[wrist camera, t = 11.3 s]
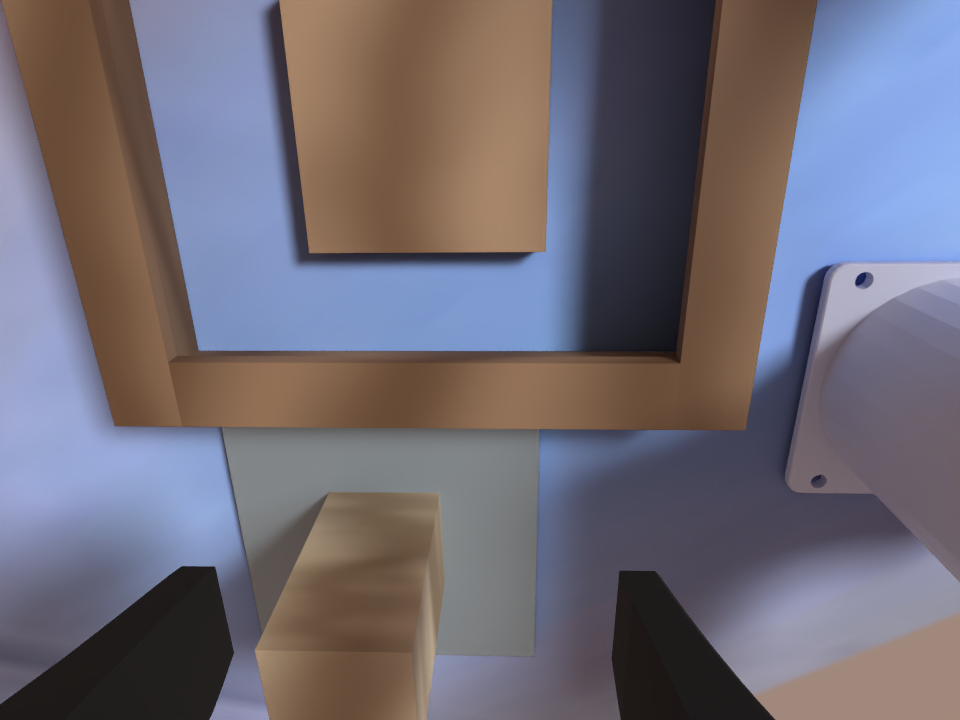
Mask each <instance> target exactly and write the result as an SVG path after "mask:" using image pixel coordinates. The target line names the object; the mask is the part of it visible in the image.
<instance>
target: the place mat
mask: <svg viewBox="0 0 960 720" xmlns="http://www.w3.org/2000/svg"><path fill="white" fill-rule="evenodd" d="M222 432H223V437H224V442H225V447H226V453H227V458H228V463H229V468H230V473H231V478H232V484H233V489H234V494H235V499H236V504H237V509H238V515H239V520H240V525H241V530H242V535H243V541H244V546H245V551H246V556H247V561H248V566H249V572H250V577H251V582H252V587H253V592H254V597H255V603H256V608H257V613H258V618H259V623H260V629H261V634H263V632H264V630H265V628H266V625H267V623H268V621H269V619H270V617H271V615H272V613H273V611H274V608H275V606H276V604H277V602H278V600H279V598H280V596H281V594H282V591H283V589H284V587H285V585H286V583H287V581H288V579H289V577H290V574H291V572H292V570H293V568H294V566H295V564H296V562H297V560H298V557H299V555H300V553H301V551H302V549H303V547H304V545H305V543H306V540H307V538H308V536H309V534H310V532H311V530H312V528H313V526H314V523H315V521H316V519H317V517H318V515H319V513H320V511H321V509H322V506H323V504H324V502H325V500H326V498H327V496H328V494H329V492H403V493H440V506H441V524H442V541H443V559H444V577H445V583H444V591H443V599H442V606H441V614H440V621H439V629H438V636H437V644H436V651H435V655H471V656H515V657H534V643H535V604H536V565H537V526H538V486H539V447H540V429H455V428H309V427H222Z"/></svg>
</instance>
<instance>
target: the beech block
mask: <svg viewBox="0 0 960 720" xmlns="http://www.w3.org/2000/svg"><path fill="white" fill-rule="evenodd" d="M444 583H445V577H444V559H443V541H442V524H441V506H440V493H403V492H329V494H328V496H327V498H326V500H325V502H324V504H323V506H322V509H321V511H320V513H319V515H318V517H317V519H316V521H315V523H314V526H313V528H312V530H311V532H310V534H309V536H308V538H307V540H306V543H305V545H304V547H303V549H302V551H301V553H300V555H299V557H298V560H297V562H296V564H295V566H294V568H293V570H292V572H291V574H290V577H289V579H288V581H287V583H286V585H285V587H284V589H283V591H282V594H281V596H280V598H279V600H278V602H277V604H276V606H275V608H274V611H273V613H272V615H271V617H270V619H269V621H268V623H267V625H266V628H265V630H264V632H263V634H262V636H261V638H260V640H259V642H258V645H257V647H256V649H255V654H256V658H257V663H258V668H259V672H260V677H261V682H262V686H263V691H264V696H265V700H266V705H267V710H268V715H269V719H270V720H426V719H427V712H428V704H429V697H430V689H431V682H432V674H433V666H434V659H435V651H436V644H437V636H438V629H439V621H440V614H441V606H442V599H443V591H444Z"/></svg>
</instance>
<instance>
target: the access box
mask: <svg viewBox="0 0 960 720" xmlns="http://www.w3.org/2000/svg"><path fill="white" fill-rule="evenodd" d="M1 1H2V5H3V8H4V12H5V16H6V20H7V23H8V27H9V31H10V35H11V38H12V42H13V46H14V50H15V53H16V57H17V61H18V65H19V68H20V72H21V76H22V80H23V83H24V87H25V91H26V95H27V98H28V102H29V106H30V110H31V113H32V117H33V121H34V125H35V128H36V132H37V136H38V140H39V143H40V147H41V151H42V155H43V158H44V162H45V166H46V170H47V173H48V177H49V181H50V185H51V189H52V192H53V196H54V200H55V204H56V207H57V211H58V215H59V219H60V222H61V226H62V230H63V234H64V237H65V241H66V245H67V249H68V252H69V256H70V260H71V264H72V267H73V271H74V275H75V279H76V282H77V286H78V290H79V294H80V297H81V301H82V305H83V309H84V312H85V316H86V320H87V324H88V327H89V331H90V335H91V339H92V342H93V346H94V350H95V354H96V357H97V361H98V365H99V369H100V373H101V376H102V380H103V384H104V388H105V391H106V395H107V399H108V403H109V406H110V410H111V414H112V418H113V421H114V425H115V426H162V427H309V428H455V429H602V430H746V425H747V419H748V413H749V407H750V401H751V395H752V389H753V383H754V377H755V371H756V365H757V359H758V353H759V347H760V341H761V335H762V329H763V323H764V317H765V311H766V305H767V299H768V293H769V287H770V281H771V275H772V270H773V264H774V258H775V252H776V246H777V240H778V234H779V228H780V222H781V216H782V210H783V204H784V198H785V192H786V186H787V180H788V174H789V168H790V162H791V156H792V150H793V144H794V138H795V132H796V126H797V120H798V114H799V108H800V102H801V96H802V90H803V84H804V78H805V72H806V66H807V60H808V54H809V48H810V42H811V36H812V30H813V24H814V18H815V12H816V6H817V0H716V5H715V13H714V22H713V31H712V40H711V49H710V58H709V66H708V75H707V84H706V93H705V102H704V111H703V119H702V128H701V137H700V146H699V155H698V164H697V173H696V181H695V190H694V199H693V208H692V217H691V226H690V234H689V243H688V252H687V261H686V270H685V279H684V287H683V296H682V305H681V314H680V323H679V332H678V340H677V349H676V352H621V351H198V346H197V341H196V336H195V330H194V325H193V320H192V315H191V310H190V305H189V300H188V295H187V290H186V285H185V280H184V275H183V270H182V265H181V260H180V255H179V250H178V245H177V240H176V235H175V230H174V225H173V220H172V215H171V210H170V205H169V200H168V194H167V189H166V184H165V179H164V174H163V169H162V164H161V159H160V154H159V149H158V144H157V139H156V134H155V129H154V124H153V119H152V114H151V109H150V104H149V99H148V94H147V89H146V84H145V79H144V74H143V69H142V64H141V59H140V53H139V48H138V43H137V38H136V33H135V28H134V23H133V18H132V13H131V8H130V3H129V0H1ZM279 2H280V11H281V19H282V27H283V36H284V44H285V53H286V61H287V70H288V78H289V86H290V95H291V103H292V112H293V120H294V128H295V137H296V145H297V154H298V162H299V171H300V179H301V187H302V196H303V204H304V213H305V221H306V230H307V238H308V246H309V253H430V252H546V224H547V186H548V148H549V110H550V72H551V34H552V0H279Z"/></svg>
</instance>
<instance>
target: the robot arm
mask: <svg viewBox="0 0 960 720" xmlns="http://www.w3.org/2000/svg"><path fill="white" fill-rule="evenodd" d="M863 272H866V279H865V281H864V282H863V283H862V284H860V285H857V286H856V285H855V280H856V278H857V276H858V275H859V274H861V273H863ZM817 475H821V477H820V479H818V480H817V481H813V482H811V480H812V478H814V477H815V476H817ZM785 481H786V483H787V485H788V486H789V487H790V489H791V490H793V491H795V492H798V493H852V494H875V495H876V496H877V497H878V499H879V500H880V501H881V502H882V503H883V504H884V505H885V506H886V507H887V508H888V509H889V510H890V511H891V512H892V513H893V514H894V515H895V516H896V517H897V518H898V519H899V520H900V521H901V522H902V523H903V524H904V525H905V526H906V527H907V528H908V529H909V530H910V531H911V532H912V534H913V535H914V536H915V537H916V538H917V539H918V540H919V541H920V542H921V543H922V544H923V545H924V546H925V547H926V548H927V549H928V550H929V551H930V552H931V553H932V554H933V555H934V556H935V557H936V558H937V559H938V560H939V561H940V562H941V563H942V564H943V565H944V566H945V568H946V569H947V570H948V571H949V572H950V573H951V574H952V575H953V576H954V577H955V578H956V579H957V580H958V581H959V582H960V261H860V262H840V263H837V264H835V265H833V266H831V268H830V269H829V270H828V271H827V272H826V275H825V277H824V282H823V287H822V292H821V297H820V302H819V307H818V312H817V317H816V322H815V327H814V332H813V337H812V342H811V347H810V352H809V357H808V362H807V367H806V372H805V377H804V382H803V387H802V392H801V397H800V402H799V407H798V412H797V417H796V422H795V427H794V432H793V437H792V442H791V447H790V452H789V457H788V462H787V467H786V472H785ZM233 654H234V651H233V647H232V642H231V638H230V633H229V628H228V624H227V619H226V615H225V610H224V605H223V601H222V596H221V592H220V587H219V583H218V578H217V573H216V569H215V567H199V566H182V567H180V568H179V569H177V570H176V571H175V572H173V573H172V574H171V575H169V576H168V577H167V578H165V579H164V580H163V581H161V582H160V583H159V584H158V585H156V586H155V587H154V588H153V589H151V590H150V591H149V592H147V593H146V594H145V595H144V596H142V597H141V598H140V599H139V600H137V601H136V602H135V603H134V604H132V605H131V606H130V607H129V608H127V609H126V610H125V611H124V612H122V613H121V614H120V615H119V616H117V617H116V618H115V619H113V620H112V621H111V622H110V623H108V624H107V625H106V626H104V627H103V628H102V629H101V630H99V631H98V632H97V633H96V634H94V635H93V636H92V637H90V638H89V639H88V640H87V641H85V642H84V643H83V644H81V645H80V646H79V647H78V648H76V649H75V650H74V651H72V652H71V653H70V654H69V655H67V656H66V657H65V658H63V659H62V660H61V661H59V662H58V663H56V664H55V665H54V666H52V667H51V668H50V669H48V670H47V671H45V672H44V673H43V674H41V675H40V676H39V677H37V678H36V679H34V680H33V681H32V682H30V683H29V684H28V685H26V686H25V687H24V688H22V689H21V690H19V691H18V692H17V693H15V694H14V695H13V696H11V697H10V698H8V699H7V700H6V701H4V702H3V703H2V704H0V720H209V719H210V717H211V715H212V713H213V710H214V708H215V705H216V702H217V700H218V697H219V694H220V691H221V689H222V686H223V683H224V680H225V677H226V674H227V671H228V668H229V666H230V663H231V660H232V657H233ZM612 663H613V670H614V677H615V684H616V691H617V698H618V704H619V711H620V717H621V720H775V719H774V718H773V717H772V716H771V715H770V713H769V712H768V711H767V710H766V709H765V708H764V707H763V706H762V705H761V704H760V702H758V700H757V699H756V698H755V697H754V696H753V694H752V693H751V692H750V691H749V690H748V689H747V688H746V686H745V685H744V684H743V683H742V682H741V681H740V679H739V678H738V677H737V676H736V675H735V673H734V672H733V671H732V670H731V669H730V667H729V666H728V665H727V664H726V662H725V661H724V660H723V659H722V658H721V656H720V655H719V654H718V653H717V652H716V650H715V649H714V648H713V647H712V645H711V644H710V643H709V642H708V640H707V639H706V638H705V637H704V635H703V634H702V633H701V631H700V630H699V629H698V627H697V626H696V625H695V624H694V622H693V621H692V620H691V618H690V617H689V616H688V614H687V613H686V612H685V610H684V609H683V608H682V606H681V605H680V603H679V602H678V601H677V599H676V598H675V597H674V595H673V594H672V592H671V591H670V590H669V588H668V587H667V585H666V584H665V583H664V581H663V580H662V578H661V577H660V576H659V575H658V574H657V573H656V572H655V571H620V572H619V583H618V595H617V606H616V617H615V628H614V640H613V651H612Z"/></svg>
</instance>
